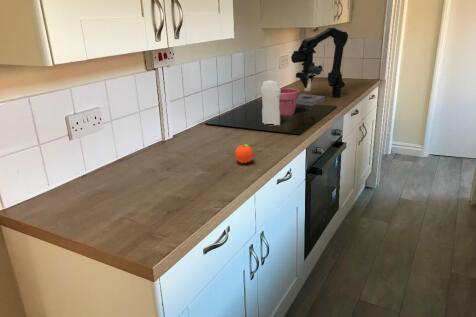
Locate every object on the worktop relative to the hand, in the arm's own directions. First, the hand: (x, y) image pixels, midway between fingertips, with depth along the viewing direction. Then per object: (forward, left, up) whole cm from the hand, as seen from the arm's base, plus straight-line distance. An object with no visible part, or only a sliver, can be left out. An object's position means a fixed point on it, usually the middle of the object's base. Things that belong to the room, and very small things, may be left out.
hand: (307, 87), depth 242 cm
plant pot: (+31, +4, -9) cm, 33 cm away
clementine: (+102, +30, -9) cm, 107 cm away
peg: (0, 0, -2) cm, 2 cm away
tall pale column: (+53, +9, -9) cm, 55 cm away
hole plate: (0, 0, -9) cm, 9 cm away
